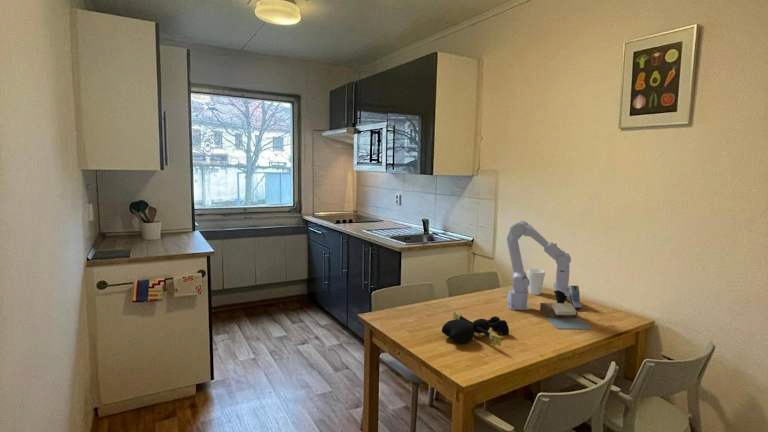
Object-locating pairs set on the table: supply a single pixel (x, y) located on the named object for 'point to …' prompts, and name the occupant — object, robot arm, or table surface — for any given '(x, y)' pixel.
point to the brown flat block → (550, 313)
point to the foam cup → (535, 280)
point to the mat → (569, 323)
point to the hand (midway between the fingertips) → (560, 305)
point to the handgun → (574, 297)
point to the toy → (474, 328)
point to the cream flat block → (564, 309)
